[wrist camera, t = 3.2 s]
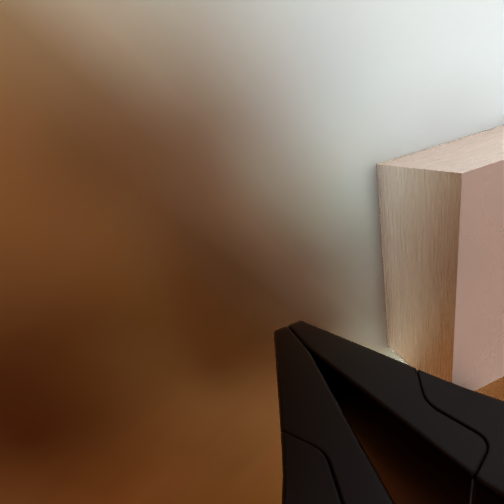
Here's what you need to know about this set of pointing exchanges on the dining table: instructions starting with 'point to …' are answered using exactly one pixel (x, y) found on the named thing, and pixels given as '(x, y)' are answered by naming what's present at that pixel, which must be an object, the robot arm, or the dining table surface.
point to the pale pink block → (446, 258)
